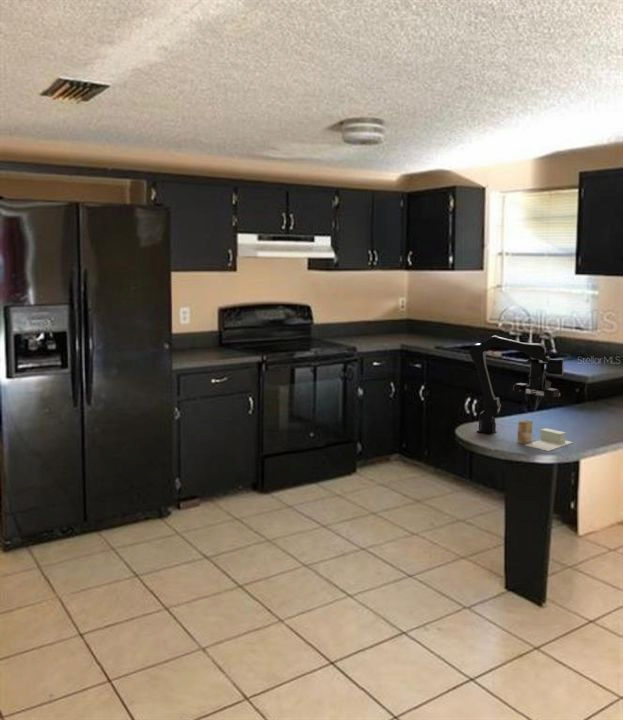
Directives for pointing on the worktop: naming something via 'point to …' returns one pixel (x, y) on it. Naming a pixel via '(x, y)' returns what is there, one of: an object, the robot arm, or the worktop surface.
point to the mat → (547, 445)
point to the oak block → (524, 432)
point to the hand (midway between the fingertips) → (534, 409)
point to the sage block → (552, 435)
